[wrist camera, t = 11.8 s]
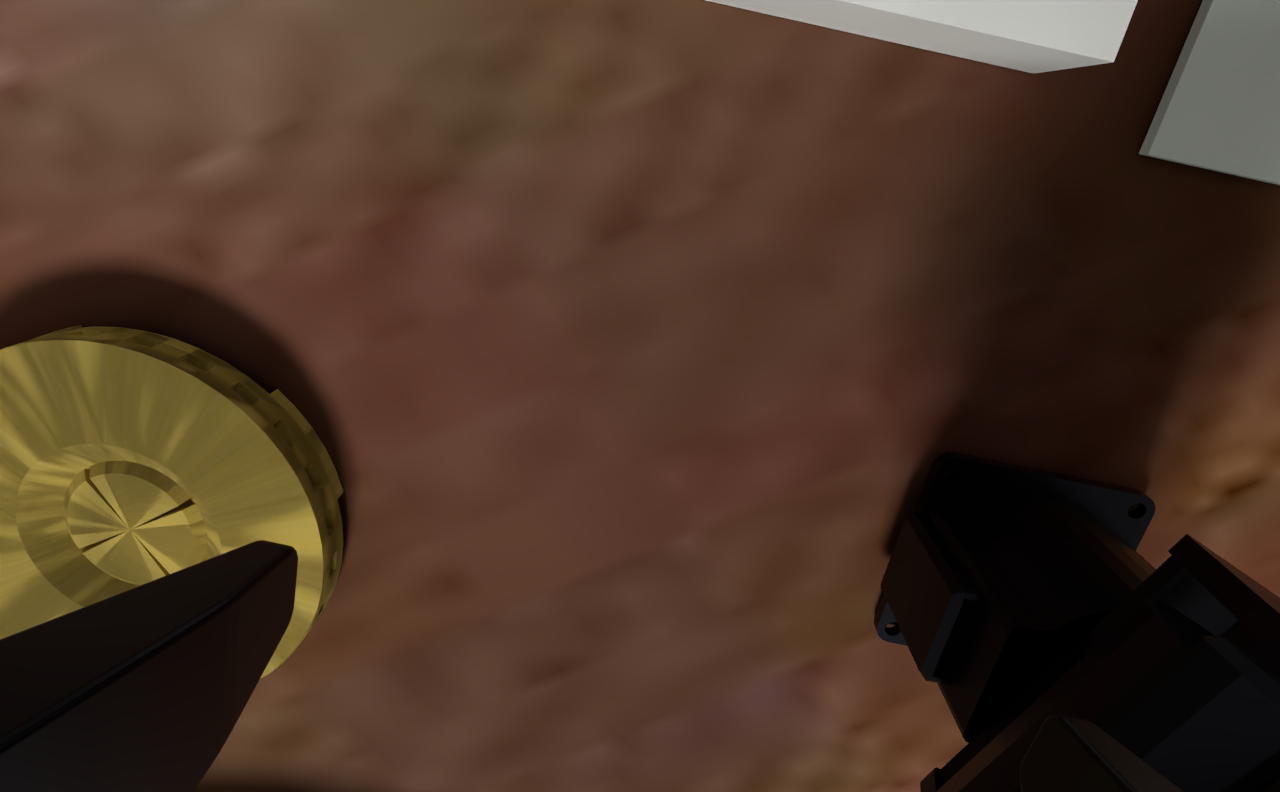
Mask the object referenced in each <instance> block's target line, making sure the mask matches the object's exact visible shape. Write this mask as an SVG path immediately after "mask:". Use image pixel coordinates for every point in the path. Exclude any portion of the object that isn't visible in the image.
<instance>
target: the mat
mask: <svg viewBox="0 0 1280 792" xmlns="http://www.w3.org/2000/svg"><path fill="white" fill-rule="evenodd" d="M1139 154H1140V155H1145V156H1149V157H1154V158H1158V159H1163V160H1167V161H1172V162H1176V163H1181V164H1185V165H1190V166H1195V167H1199V168H1204V169H1208V170H1213V171H1217V172H1222V173H1226V174H1231V175H1235V176H1240V177H1244V178H1249V179H1253V180H1258V181H1262V182H1267V183H1271V184H1276V185H1280V0H1203V1H1202V3H1201V6H1200V8H1199V11H1198V13H1197V15H1196V18H1195V20H1194V22H1193V25H1192V27H1191V30H1190V32H1189V34H1188V37H1187V39H1186V42H1185V44H1184V46H1183V49H1182V51H1181V54H1180V56H1179V58H1178V61H1177V63H1176V66H1175V68H1174V70H1173V73H1172V75H1171V78H1170V80H1169V82H1168V85H1167V87H1166V90H1165V92H1164V94H1163V97H1162V99H1161V101H1160V104H1159V106H1158V109H1157V111H1156V113H1155V116H1154V118H1153V121H1152V123H1151V125H1150V128H1149V130H1148V133H1147V135H1146V137H1145V140H1144V142H1143V145H1142V147H1141V149H1140V152H1139Z"/></svg>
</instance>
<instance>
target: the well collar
mask: <svg viewBox="0 0 1280 792" xmlns="http://www.w3.org/2000/svg"><path fill="white" fill-rule="evenodd" d="M706 1H711V2H715V3H720V4H724V5H729V6H733V7H738V8H742V9H746V10H751V11H755V12H760V13H764V14H769V15H773V16H778V17H782V18H787V19H791V20H796V21H800V22H805V23H809V24H814V25H818V26H823V27H827V28H831V29H836V30H840V31H845V32H849V33H854V34H858V35H863V36H867V37H872V38H876V39H881V40H885V41H890V42H894V43H899V44H903V45H908V46H912V47H916V48H921V49H925V50H930V51H934V52H939V53H943V54H948V55H952V56H957V57H961V58H966V59H970V60H975V61H979V62H984V63H988V64H993V65H997V66H1001V67H1006V68H1010V69H1015V70H1019V71H1024V72H1028V73H1033V74H1035V73H1042V72H1049V71H1056V70H1063V69H1070V68H1077V67H1084V66H1091V65H1098V64H1105V63H1112V62H1114V61H1115V58H1116V55H1117V53H1118V50H1119V48H1120V45H1121V43H1122V40H1123V38H1124V35H1125V32H1126V30H1127V27H1128V25H1129V22H1130V20H1131V17H1132V14H1133V12H1134V9H1135V7H1136V4H1137V2H1138V0H706Z"/></svg>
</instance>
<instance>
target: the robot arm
mask: <svg viewBox="0 0 1280 792" xmlns="http://www.w3.org/2000/svg"><path fill="white" fill-rule="evenodd" d="M951 466H958V470H957V471H956V472H955V473H954V474H952V475H948V476H946V475H945V472H946V470H947V469H948V468H949V467H951ZM1134 504H1138V506H1137V508H1136V509H1135V510H1133V511H1131V512H1128V510H1129V508H1130V507H1131V506H1132V505H1134ZM1154 512H1155V504H1154V502H1153V501H1152V500H1151V499H1150V498H1149V497H1148V496H1147V495H1145V494H1144V493H1143V492H1141V491H1138V490H1135V489H1131V488H1126V487H1121V486H1116V485H1111V484H1106V483H1101V482H1096V481H1092V480H1087V479H1082V478H1077V477H1072V476H1067V475H1062V474H1057V473H1053V472H1048V471H1043V470H1038V469H1033V468H1028V467H1023V466H1018V465H1014V464H1009V463H1004V462H999V461H994V460H989V459H984V458H979V457H975V456H970V455H965V454H960V453H955V452H948V453H945V454H942V455H940V456H939V457H938V458H936V460H935V461H934V463H933V464H932V467H931V470H930V472H929V475H928V478H927V480H926V483H925V486H924V488H923V491H922V493H921V496H920V499H919V501H918V504H917V507H916V509H915V512H914V513H913V514H911V515H910V516H909V517H907V518H906V519H905V521H904V524H903V526H902V529H901V532H900V534H899V537H898V540H897V542H896V545H895V548H894V550H893V553H892V556H891V558H890V561H889V564H888V566H887V569H886V572H885V574H884V577H883V580H882V582H881V588H882V590H883V593H884V594H883V597H882V599H881V602H880V605H879V607H878V610H877V613H876V615H875V618H874V625H875V628H876V630H877V633H878V635H879V637H880V638H882V639H883V640H885V641H887V642H892V643H897V644H902V645H907V646H908V647H909V650H910V652H911V654H912V656H913V658H914V660H915V663H916V665H917V667H918V669H919V671H920V673H921V674H922V676H923V677H924V679H925V680H926V681H930V682H935V683H937V684H938V686H939V688H940V690H941V692H942V694H943V696H944V698H945V700H946V702H947V704H948V706H949V709H950V711H951V713H952V715H953V717H954V719H955V721H956V723H957V725H958V727H959V729H960V732H961V734H962V736H963V738H964V739H965V741H966V742H968V743H969V744H968V745H967V746H965V747H964V748H963V749H962V750H961V751H960V752H959V753H958V754H957V755H956V756H955V757H954V758H952V759H951V760H950V761H949V762H948V763H947V764H946V765H945V766H944V767H943V768H942V769H939V768H935V769H933V770H932V771H931V772H930V773H929V774H928V775H927V776H926V777H925V778H924V779H923V780H922V781H921V783H920V786H921V792H1280V598H1279V597H1278V596H1276V595H1275V594H1273V593H1272V592H1270V591H1269V590H1267V589H1266V588H1265V587H1263V586H1262V585H1260V584H1259V583H1257V582H1256V581H1254V580H1253V579H1252V578H1250V577H1249V576H1247V575H1246V574H1244V573H1243V572H1241V571H1240V570H1239V569H1237V568H1236V567H1234V566H1233V565H1231V564H1230V563H1228V562H1227V561H1226V560H1224V559H1223V558H1221V557H1220V556H1218V555H1217V554H1215V553H1214V552H1213V551H1211V550H1210V549H1208V548H1207V547H1205V546H1204V545H1203V544H1201V543H1200V542H1198V541H1197V540H1195V539H1194V538H1192V537H1191V536H1189V535H1188V534H1186V535H1185V536H1184V537H1183V538H1182V539H1181V540H1180V541H1179V542H1177V543H1176V544H1175V545H1174V546H1173V547H1172V548H1171V549H1170V550H1169V553H1170V554H1171V555H1172V556H1171V557H1169V558H1168V559H1167V560H1166V561H1165V562H1164V563H1163V564H1162V565H1161V566H1160V567H1159V568H1158V569H1157V570H1156V569H1155V568H1154V567H1152V566H1151V565H1150V564H1149V563H1148V562H1147V561H1146V560H1145V559H1144V558H1143V557H1142V556H1140V555H1139V554H1138V553H1137V552H1136V549H1137V547H1138V545H1139V543H1140V541H1141V539H1142V537H1143V535H1144V533H1145V531H1146V529H1147V527H1148V525H1149V523H1150V521H1151V519H1152V517H1153V515H1154ZM297 568H298V555H297V551H296V550H295V549H294V547H292V546H288V545H284V544H279V543H275V542H270V541H265V540H258V541H255V542H252V543H249V544H247V545H244V546H242V547H239V548H236V549H234V550H231V551H229V552H226V553H223V554H221V555H218V556H216V557H213V558H210V559H208V560H205V561H203V562H200V563H197V564H195V565H192V566H190V567H187V568H184V569H182V570H179V571H177V572H174V573H172V574H169V575H166V576H164V577H161V578H159V579H156V580H153V581H151V582H148V583H146V584H143V585H140V586H138V587H135V588H133V589H130V590H127V591H125V592H122V593H120V594H117V595H114V596H112V597H109V598H107V599H104V600H101V601H99V602H96V603H94V604H91V605H88V606H86V607H83V608H81V609H78V610H75V611H73V612H70V613H68V614H65V615H62V616H60V617H57V618H55V619H52V620H50V621H47V622H44V623H42V624H39V625H37V626H34V627H31V628H29V629H26V630H24V631H21V632H18V633H16V634H13V635H11V636H8V637H5V638H3V639H0V792H193V791H194V790H195V788H196V787H197V785H198V784H199V782H200V781H201V779H202V778H203V776H204V775H205V774H206V772H207V771H208V769H209V768H210V766H211V764H212V763H213V761H214V760H215V758H216V757H217V755H218V754H219V752H220V751H221V749H222V747H223V745H224V744H225V742H226V740H227V738H228V737H229V735H230V733H231V731H232V730H233V728H234V726H235V724H236V722H237V720H238V718H239V717H240V715H241V713H242V711H243V709H244V707H245V705H246V704H247V702H248V700H249V698H250V696H251V694H252V693H253V691H254V689H255V687H256V685H257V683H258V681H259V680H260V678H261V676H262V674H263V672H264V670H265V669H266V667H267V665H268V663H269V661H270V659H271V657H272V656H273V654H274V652H275V650H276V648H277V646H278V644H279V643H280V641H281V639H282V637H283V635H284V633H285V632H286V630H287V628H288V625H289V623H290V620H291V617H292V614H293V610H294V603H295V591H296V579H297ZM891 622H897V624H896V625H895V626H893V627H889V628H887V627H886V626H887V624H889V623H891Z"/></svg>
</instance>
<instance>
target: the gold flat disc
mask: <svg viewBox="0 0 1280 792" xmlns="http://www.w3.org/2000/svg"><path fill="white" fill-rule="evenodd" d="M342 494H343V489H342V486H341V483H340V480H339V477H338V474H337V471H336V469H335V467H334V465H333V463H332V461H331V458H330V456H329V454H328V452H327V450H326V448H325V447H324V445H323V444H322V442H321V440H320V439H319V437H318V436H317V434H316V433H315V431H314V429H313V428H312V427H311V425H310V424H309V423H308V422H307V420H306V419H305V418H304V417H303V415H302V414H301V413H300V412H299V410H298V409H297V408H296V407H295V406H294V405H293V404H292V403H291V402H290V401H289V400H288V399H287V398H286V397H285V396H284V395H283V394H282V393H281V392H280V391H279V390H278V389H276V390H275V391H273V392H272V393H270V394H269V393H268V392H267V391H265V390H264V389H263V388H262V387H260V386H259V385H258V384H257V383H255V382H254V381H253V380H252V379H251V378H249V377H248V376H247V375H245V374H243V373H242V372H240V371H239V370H237V369H236V368H234V367H233V366H231V365H230V364H228V363H227V362H225V361H223V360H221V359H219V358H217V357H215V356H214V355H212V354H210V353H208V352H206V351H204V350H202V349H200V348H197V347H195V346H192V345H190V344H187V343H185V342H182V341H179V340H177V339H174V338H171V337H167V336H163V335H160V334H156V333H152V332H149V331H143V330H137V329H130V328H123V327H101V326H92V327H82V326H81V325H78V326H74V327H69V328H65V329H61V330H57V331H54V332H51V333H48V334H45V335H42V336H39V337H36V338H33V339H30V340H27V341H24V342H21V343H18V344H15V345H12V346H9V347H6V348H4V349H1V350H0V639H3V638H5V637H8V636H11V635H13V634H16V633H18V632H21V631H24V630H26V629H29V628H31V627H34V626H37V625H39V624H42V623H44V622H47V621H50V620H52V619H55V618H57V617H60V616H62V615H65V614H68V613H70V612H73V611H75V610H78V609H81V608H83V607H86V606H88V605H91V604H94V603H96V602H99V601H101V600H104V599H107V598H109V597H112V596H114V595H117V594H120V593H122V592H125V591H127V590H130V589H133V588H135V587H138V586H140V585H143V584H146V583H148V582H151V581H153V580H156V579H159V578H161V577H164V576H166V575H169V574H172V573H174V572H177V571H179V570H182V569H184V568H187V567H190V566H192V565H195V564H197V563H200V562H203V561H205V560H208V559H210V558H213V557H216V556H218V555H221V554H223V553H226V552H229V551H231V550H234V549H236V548H239V547H242V546H244V545H247V544H249V543H252V542H255V541H258V540H265V541H270V542H275V543H279V544H284V545H288V546H292V547H294V549H295V550H296V551H297V555H298V568H297V579H296V591H295V603H294V610H293V614H292V617H291V620H290V623H289V625H288V628H287V630H286V632H285V633H284V635H283V637H282V639H281V641H280V643H279V644H278V646H277V648H276V650H275V652H274V654H273V656H272V657H271V659H270V661H269V663H268V665H267V667H266V669H265V670H264V672H263V674H262V676H261V678H263V677H264V676H266V675H267V674H269V673H271V672H272V671H273V670H275V669H276V668H277V667H278V666H279V665H280V664H282V663H283V662H284V661H285V660H286V659H287V658H288V657H289V656H290V655H291V654H292V652H293V651H294V650H295V649H296V648H297V647H298V645H299V644H300V643H301V642H302V640H303V639H304V637H305V636H306V634H307V633H308V632H309V630H310V629H311V627H312V626H313V625H314V623H315V622H316V620H317V619H318V618H319V616H320V615H321V613H322V612H323V610H324V608H325V607H326V605H327V603H328V602H329V600H330V598H331V596H332V593H333V591H334V588H335V586H336V583H337V580H338V576H339V572H340V568H341V564H342V553H343V529H342V519H341V514H340V509H339V504H338V498H339V497H340V496H341V495H342ZM261 678H260V679H261Z"/></svg>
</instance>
